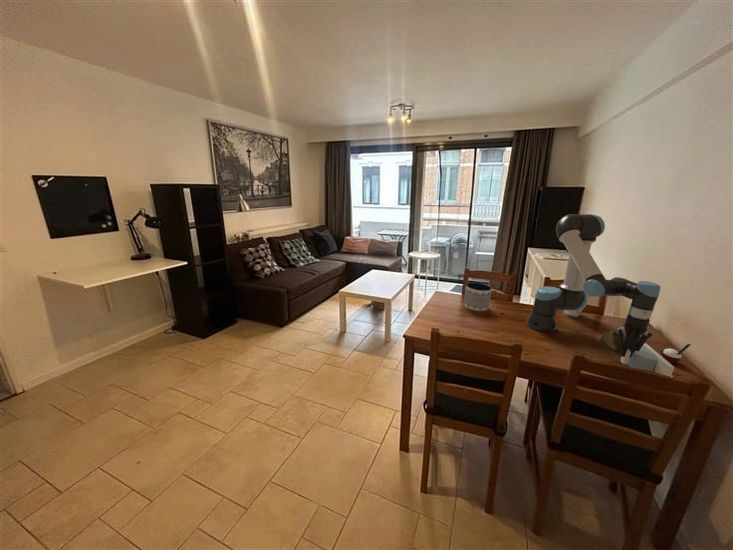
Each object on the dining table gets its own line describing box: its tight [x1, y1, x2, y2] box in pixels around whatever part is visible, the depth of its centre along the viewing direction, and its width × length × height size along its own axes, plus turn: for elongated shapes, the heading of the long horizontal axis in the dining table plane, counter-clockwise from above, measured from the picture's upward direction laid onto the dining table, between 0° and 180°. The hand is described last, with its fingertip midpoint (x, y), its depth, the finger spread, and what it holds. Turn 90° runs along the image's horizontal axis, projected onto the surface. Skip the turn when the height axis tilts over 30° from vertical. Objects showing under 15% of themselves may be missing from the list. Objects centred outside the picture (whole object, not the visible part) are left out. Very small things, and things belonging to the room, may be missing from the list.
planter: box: [463, 282, 493, 312], centre depth 199 cm, size 16×16×14 cm
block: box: [626, 351, 657, 371], centre depth 137 cm, size 7×7×7 cm
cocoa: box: [660, 343, 692, 364], centre depth 142 cm, size 10×6×12 cm, turn 165°
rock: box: [600, 329, 622, 353], centre depth 156 cm, size 11×9×10 cm
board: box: [639, 342, 675, 377], centre depth 136 cm, size 6×20×8 cm, turn 164°
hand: (623, 362), depth 140 cm, fingers closed
